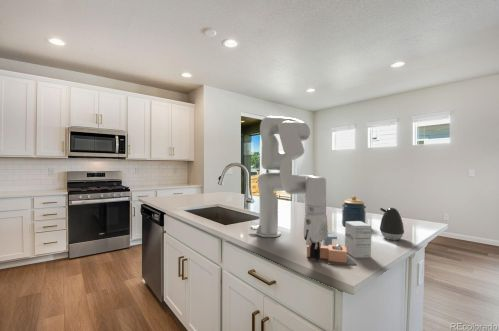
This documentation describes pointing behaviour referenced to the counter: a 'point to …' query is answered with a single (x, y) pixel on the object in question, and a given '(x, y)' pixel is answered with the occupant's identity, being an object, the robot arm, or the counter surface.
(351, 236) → the supplement box
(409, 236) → the counter surface
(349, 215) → the canister
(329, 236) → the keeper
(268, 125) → the robot arm
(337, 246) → the pintle station
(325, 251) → the link
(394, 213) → the pump dispenser
